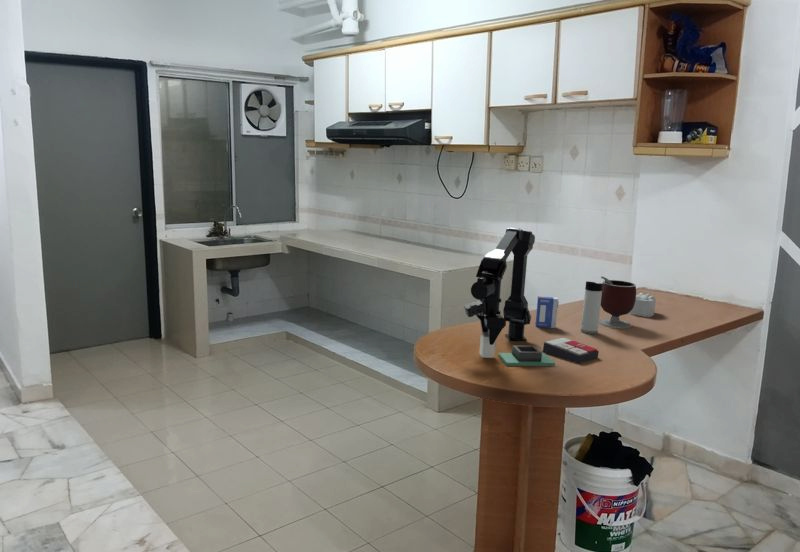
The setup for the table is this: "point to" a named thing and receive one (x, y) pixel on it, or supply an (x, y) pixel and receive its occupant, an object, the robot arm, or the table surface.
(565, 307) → the table surface
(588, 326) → the travel mug
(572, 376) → the table surface
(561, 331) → the table surface
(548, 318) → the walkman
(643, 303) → the lumpy-topped squat cylinder
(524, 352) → the board
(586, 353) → the dark panelled flat block
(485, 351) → the plug
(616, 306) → the mate gourd
